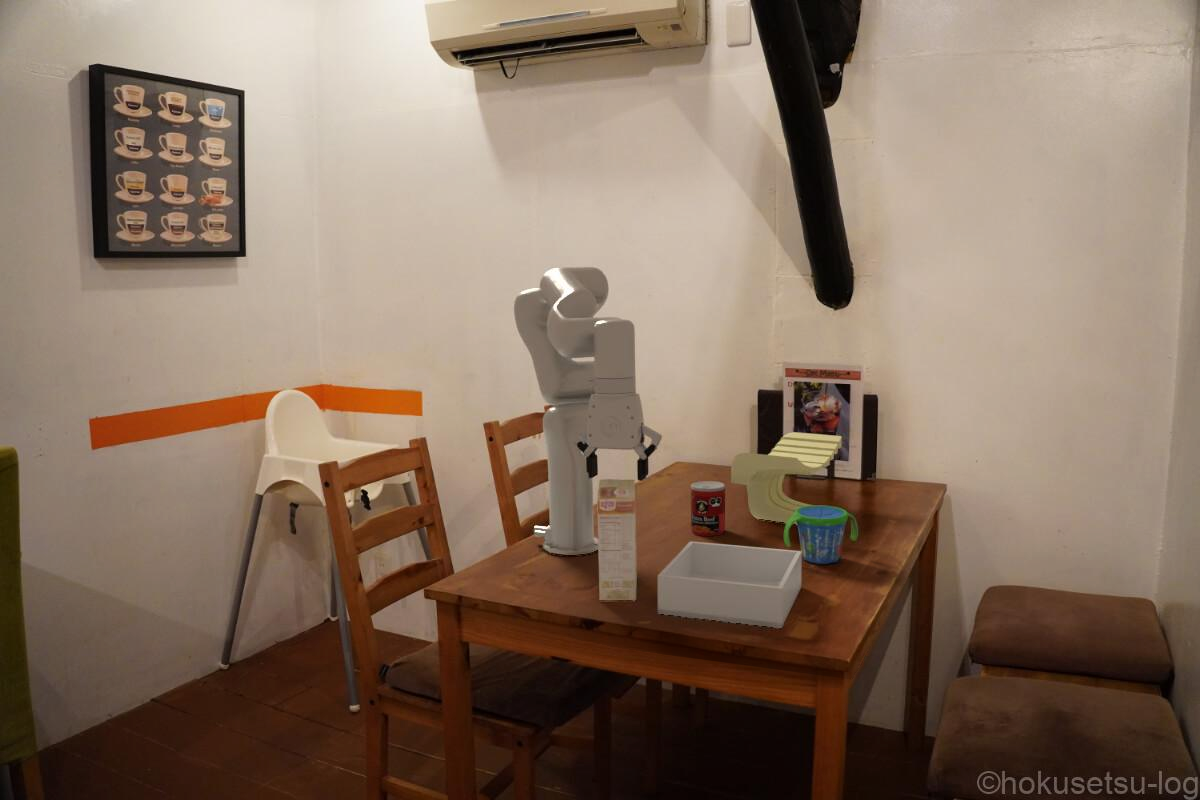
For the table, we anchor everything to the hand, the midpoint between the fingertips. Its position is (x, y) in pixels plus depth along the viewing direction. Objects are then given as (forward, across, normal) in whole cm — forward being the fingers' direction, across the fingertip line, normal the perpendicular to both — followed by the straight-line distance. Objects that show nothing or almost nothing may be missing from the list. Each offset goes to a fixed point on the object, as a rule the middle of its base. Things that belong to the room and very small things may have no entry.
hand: (617, 478), depth 175 cm
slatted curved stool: (+21, +21, +62) cm, 69 cm away
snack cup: (+22, +33, +30) cm, 50 cm away
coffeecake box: (+22, -1, +1) cm, 22 cm away
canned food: (+21, +6, +43) cm, 48 cm away
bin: (+22, +21, +1) cm, 30 cm away
